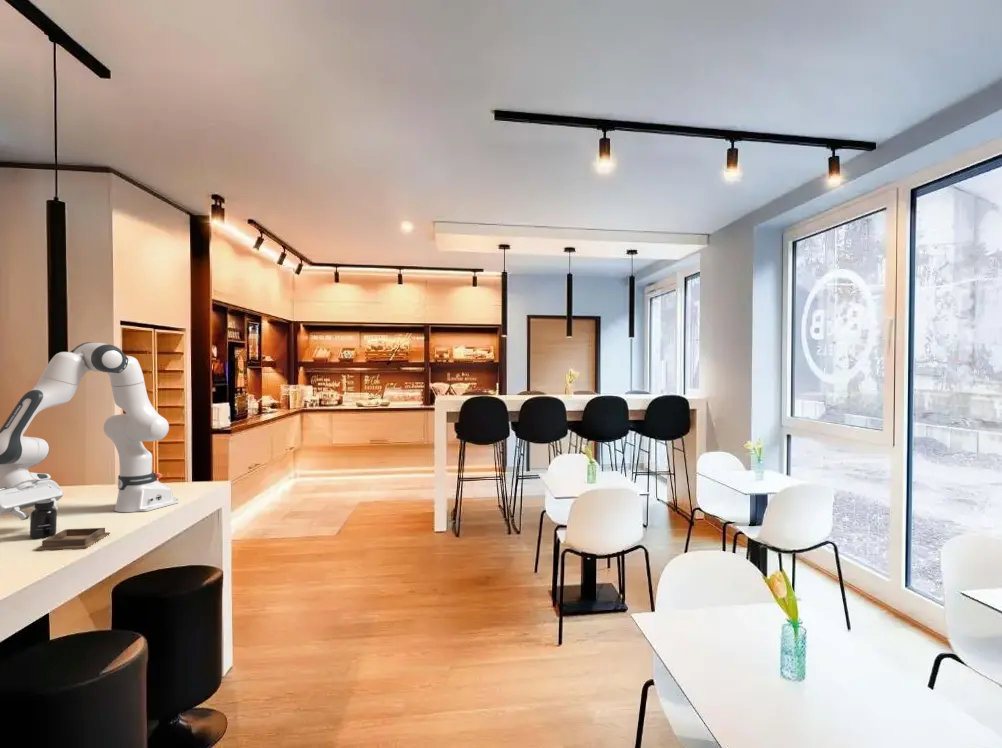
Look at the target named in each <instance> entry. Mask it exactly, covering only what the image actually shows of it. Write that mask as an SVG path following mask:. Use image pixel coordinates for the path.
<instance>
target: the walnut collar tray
mask: <svg viewBox="0 0 1002 748" xmlns="http://www.w3.org/2000/svg"><path fill="white" fill-rule="evenodd" d="M109 534H111V532H106V528H105V527H91V528H90V527H88V528H67V529H63V530H62V531H60V532H58V533H57V532H56V534H55V535H53V536H51V537H48V538H44V539H43V540H42V541H41V545H40V546H39V547H37V548H36V549H35V550H36V551H35V552H43V551H42V550H50V551H64V550H63V549H72V550H87V549H89V548H90V547H91V545H92V546H94V545H95V544H97V543H99V542H100V541H102V540H103V539H105V538H106V536H107V535H108V536H110V535H109ZM108 536H107V537H108ZM104 537H105V538H104ZM101 539H102V540H101ZM99 540H100V541H99ZM98 541H99V542H98ZM96 542H97V543H96ZM94 543H95V544H94ZM93 544H94V545H93ZM88 547H89V548H88ZM86 548H87V549H86ZM39 550H41V551H39Z"/></svg>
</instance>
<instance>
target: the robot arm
mask: <svg viewBox="0 0 1002 748" xmlns="http://www.w3.org/2000/svg"><path fill="white" fill-rule="evenodd" d="M90 371H93V372H102V373H107V375H108V376H109V379H110V380H109V381H110V386H111V391H112V396H113V400H114V401H113V402H114V403H115V405H116V406H117V407H118V408H120V409H122V410H123V411H124V413H121V414H120V413H119V414H115V415H111V416H109V417H108V418H107V419H106V420H105V422H104V424H103V431H104V434H105V435H106V437H108V438H109V439H110V440H111V441H112V443H113V444H114V447H115V448H116V451H117V454H118V462H119V475H118V478H117V489H118V493H117V498H116V499H117V500H116V503H115V506H114V508H113V511H115V512H118V513H134V512H149V511H153V510H157V509H161V508H164V507H168V506H171V505H175V504H179V503H180V500H179V498H177V497H174V496H173V490H172V488H171V487H169V486H168V485H165V484H164V483H162V482H160V481H159V480H157V479H161V478H162V477H163V474H162V473H160V472H157V473H156V472H153V454H152V453H151V452H150V450H148V449H147V448H146V447H145V445H144V443H143V442H154V441H155V442H156V441H161V440H163V439H164V438H165V437H167V435H168V434H169V431H170V423H169V422H168V420H167V418H165V417H164V416H162V415H161V414H159V413H158V412H157V410H156V409H155V407H154V406H153V405H152V403H151V401H150V399H149V395H148V391H147V387H146V382H145V377H144V374H143V373H144V372H143V370H142V367H141V365H140V362H139V360H138V359H137V358H136V357H135V356H131V355H125V353H124V352H123V351H122V350H121V349H120V348H119V347H118V346H116V345H113V344H109V343H104V342H93V341H92V342H91V341H89V342H83V343H80V344H78V345H77V346H76V347H74V348H73V349H72V350H70V351H60V352H58V353H56V354H55V355H53V356H52V358H51V359H50V361H49V362H48V363H47V365H46V366H45V369H44V370H43V372H42V374H41V375H40V378H39V380H38V381H37V383H36V384H35V386H34V387H32V389H31V390H29V391H27V392H26V393H24V395H23V396H22V397H21V398H20V399H19V401H17V404H16V405H15V407H14V408H13V409H12V411H11V412H10V414H9V416H8V417H7V419H6V420H5V422H4V423H3V425H2V426H1V428H0V515H5V514H9V513H11V515H12V516H15V517H17V518H19V519H20V520H21V521H24V520H28V519H29V518H30V515H29V513H28V512H23V511H21V510H25V509H30V508H33V507H34V508H35V502H38V501H44V500H53V504H54V506H53V508H55V509H56V510H57V511H58V510H59V507H58V506H57V502H58V501H60V500H61V498H63V496H64V491H63V489H62V488H61V487H60V485H59V484H58V483H57V482H56V481H54V480H53V479H51V478H52V477H51V475H50V474H49V473H40V472H39V473H38V472H33V471H32V472H30V471H29V469H30V468H33V467H35V466H37V465H38V464H40V463H41V462H43V461H44V460H45V459H46V458H47V457H48V456H49V453H50V445H49V443H48V441H47V440H45V439H44V438H41V437H36V436H24V434H25V432H26V431H27V429H28V427H29V426H30V424H31V423H32V421H33V420H34V418H35V416H36V415H37V414H39V413H40V412H41V411H43V410H46V409H49V408H52V407H58V406H61V405H64V404H66V403H68V402H70V401H71V400H72V398H73V397H74V396H75V394H76V392H77V391H78V388H79V386H80V383H81V381H82V379H83V377H84V376H85V375H86V374H87V373H88V372H90Z"/></svg>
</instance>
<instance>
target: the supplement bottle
mask: <svg viewBox="0 0 1002 748" xmlns="http://www.w3.org/2000/svg"><path fill="white" fill-rule="evenodd" d="M53 506H54V504H53V500H44V501H38V502H35V506H34V510H32V512H30V516H29V518H30V521H29V524H30V525H29V537H30V539H33V540H40V538H42V539H47V538H46V537H48V538H49V537H51V536H53V535H55V534H57V523H58V522H57V519H58V510H56V509H55V508H53Z"/></svg>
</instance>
